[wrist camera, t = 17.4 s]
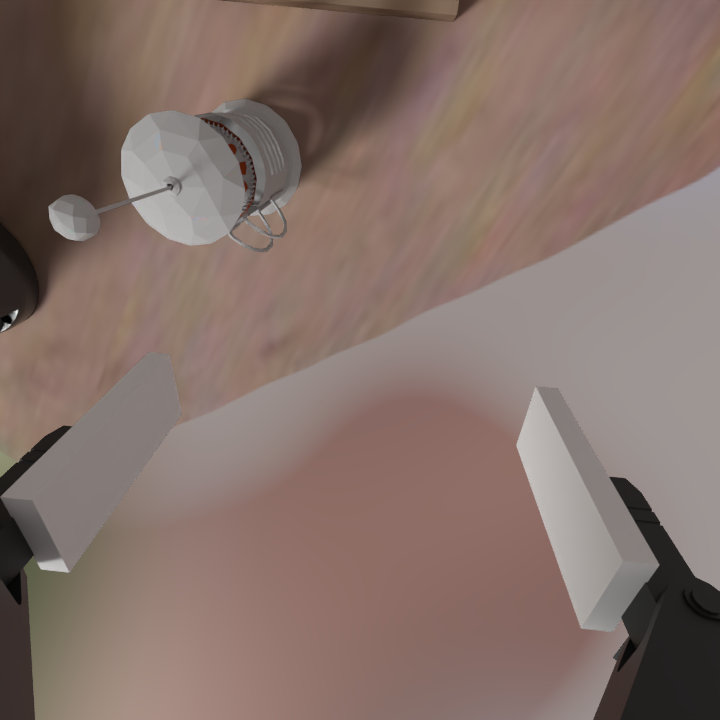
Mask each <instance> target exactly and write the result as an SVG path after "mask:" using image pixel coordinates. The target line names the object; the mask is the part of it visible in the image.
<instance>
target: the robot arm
mask: <svg viewBox="0 0 720 720" xmlns="http://www.w3.org/2000/svg"><path fill="white" fill-rule="evenodd" d="M37 300H38V285H37V280H36V276H35V273H34V270H33V268H32V265H31V263H30V261H29V259H28V257H27V256H26V254H25V252H24V251H23V249H22V248H21V246H20V245H19V244H18V242H17V241H16V240H15V239H14V238H13V236H12V235H11V234H10V233H9V232H8V231H7V230H6V229H5V228H4V227H3V226H2V225H1V224H0V333H1V332H4V331H7V330H9V329H11V328H13V327H14V326H16V325H18V324H20V323H22V322H23V321H25V320H26V319H27V318H29V317H30V315H31V314H32V313H33V311H34V309H35V307H36V304H37ZM181 415H182V412H181V407H180V403H179V398H178V393H177V388H176V383H175V379H174V374H173V369H172V364H171V359H170V355H169V354H162V353H151V352H149V353H147V354H146V355H145V356H144V357H143V358H142V359H141V360H140V361H139V362H138V363H137V364H136V365H135V366H134V367H133V368H132V369H131V370H130V371H129V372H128V373H127V374H126V375H125V376H124V377H123V378H122V379H121V380H120V381H119V382H118V383H117V384H116V385H115V386H114V387H113V388H112V389H111V390H109V391H108V392H107V393H106V394H105V395H104V396H103V397H102V398H101V399H100V400H99V401H98V402H97V403H96V404H95V405H94V406H93V407H92V408H91V409H90V410H89V411H88V412H87V413H86V414H85V415H84V416H83V417H82V418H81V419H80V420H79V421H78V422H77V423H76V424H75V425H74V426H62V427H60V428H59V429H57V430H55V431H53V432H52V433H50V434H48V435H46V436H45V437H44V438H43V439H41V440H40V441H39V442H38V443H37V444H36V445H35V446H34V447H33V448H32V449H31V451H30V452H27V453H26V454H25V455H24V456H23V457H22V458H21V459H20V461H19V463H16V464H14V465H13V466H12V467H11V468H10V469H9V470H8V471H7V472H6V473H5V474H4V475H3V476H1V477H0V720H35V712H34V695H33V677H32V660H31V642H30V624H29V607H28V589H27V576H26V573H25V571H24V569H23V567H24V566H25V565H26V564H27V563H28V561H29V560H30V559H31V558H32V556H34V558H35V560H36V561H37V563H38V565H39V567H40V568H41V569H42V570H51V571H60V572H70V571H71V570H72V568H73V567H74V565H75V564H76V563H77V561H78V560H79V558H80V557H81V556H82V554H83V553H84V551H85V550H86V549H87V547H88V546H89V544H90V543H91V541H92V540H93V539H94V537H95V536H96V534H97V533H98V532H99V530H100V529H101V527H102V526H103V525H104V523H105V522H106V520H107V519H108V518H109V516H110V515H111V513H112V512H113V510H114V509H115V508H116V506H117V505H118V503H119V502H120V501H121V499H122V498H123V496H124V495H125V494H126V492H127V491H128V489H129V488H130V487H131V485H132V484H133V482H134V481H135V479H136V478H137V477H138V475H139V474H140V472H141V471H142V470H143V468H144V467H145V465H146V464H147V462H148V461H149V460H150V458H151V457H152V455H153V454H154V452H155V451H156V450H157V448H158V447H159V446H160V444H161V443H162V441H163V440H164V439H165V437H166V436H167V434H168V433H169V432H170V430H171V429H172V427H173V426H174V425H175V423H176V422H177V420H178V419H179V418H180V416H181ZM516 446H517V449H518V451H519V454H520V457H521V460H522V463H523V466H524V468H525V471H526V474H527V477H528V480H529V483H530V485H531V488H532V491H533V494H534V496H535V499H536V502H537V505H538V508H539V511H540V514H541V516H542V519H543V522H544V525H545V528H546V530H547V533H548V536H549V539H550V542H551V544H552V548H553V550H554V553H555V556H556V559H557V561H558V565H559V567H560V570H561V573H562V576H563V579H564V582H565V584H566V587H567V590H568V593H569V596H570V598H571V601H572V604H573V607H574V610H575V612H576V615H577V618H578V621H579V624H580V627H581V629H590V630H600V631H608V632H613V631H614V629H615V628H616V626H617V625H618V623H619V622H620V621H621V619H622V620H623V622H624V625H625V627H626V629H627V631H628V634H629V637H628V638H627V639H626V641H625V642H624V643H623V645H622V646H621V647H620V649H619V650H618V652H617V653H616V654H615V656H614V657H613V658H614V659H615V660H617V662H616V664H615V667H614V670H613V672H612V674H611V677H610V680H609V682H608V684H607V687H606V689H605V692H604V694H603V697H602V699H601V702H600V704H599V707H598V710H597V712H596V714H595V717H594V719H593V720H720V591H718V590H717V589H716V588H714V587H713V586H712V585H710V584H708V583H706V582H704V581H702V580H700V579H698V578H696V577H695V576H694V575H693V573H692V572H691V570H690V568H689V567H688V565H687V564H686V562H685V561H684V559H683V557H682V556H681V555H680V553H679V551H678V550H677V548H676V547H675V545H674V543H673V542H672V540H671V539H670V537H669V535H668V534H667V532H666V531H665V529H664V528H663V526H660V521H659V520H658V518H657V517H656V515H655V513H654V512H652V509H651V507H650V506H649V504H648V502H647V501H646V500H645V498H644V496H643V495H642V493H641V492H640V491H639V490H638V489H637V488H635V487H634V486H633V485H632V484H631V483H630V482H629V481H628V480H627V479H625V478H617V477H609V476H608V474H607V473H606V471H605V469H604V467H603V466H602V464H601V462H600V460H599V459H598V457H597V455H596V453H595V452H594V450H593V448H592V447H591V445H590V443H589V441H588V440H587V438H586V436H585V434H584V433H583V431H582V429H581V427H580V426H579V424H578V422H577V421H576V419H575V417H574V416H573V414H572V412H571V410H570V408H569V407H568V405H567V403H566V401H565V400H564V398H563V396H562V394H561V393H560V391H559V389H558V388H549V387H537V386H536V388H535V390H534V394H533V397H532V400H531V403H530V406H529V409H528V412H527V415H526V418H525V421H524V424H523V427H522V430H521V433H520V436H519V439H518V442H517V445H516Z"/></svg>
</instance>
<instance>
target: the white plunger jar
mask: <svg viewBox="0 0 720 720" xmlns="http://www.w3.org/2000/svg"><path fill="white" fill-rule="evenodd" d="M301 168H302V164H301V158H300V153H299V147H298V142H297V140H296V139H295V137H294V135H293V133H292V132H291V130H290V128H289V126H288V124H287V123H286V121H285V120H284V119H282V118H281V117H280V116H279V115H278V114H277V113H275V112H274V111H273V110H272V109H271V108H270V107H269V106H267V105H264V104H261V103H258V102H255V101H251V100H248V99H241V100H234V101H228V102H224V103H223V104H222V105H220V106H219V107H218V108H216V109H215V110H214V111H212V112H211V113H207V114H201V115H195V116H191V115H188V114H184V113H181V112H178V111H174V110H171V111H164V112H158V113H151V114H148V115H147V116H145V117H144V118H143V119H142V120H140V121H139V122H138V123H137V124H135V125H134V126H133V127H131V128H130V131H129V133H128V135H127V137H126V140H125V142H124V144H123V147H122V149H121V176H122V179H123V182H124V185H125V187H126V190H127V193H128V196H129V198H130V199H128V200H125V201H121V202H118V203H115V204H112V205H109V206H106V207H103V208H100V209H97V210H95V208H94V207H93V206H92V204H91V203H90V202H88V201H87V200H86V199H84V198H83V197H80V196H77V195H74V194H72V195H63V196H62V197H60V198H59V199H58V200H56V201H55V202H54V203H52V204H51V205H50V206H48V207H49V218H50V221H51V223H52V226H53V228H54V229H55V231H57V232H58V233H60V234H61V235H62V236H64V237H65V238H67V239H71V240H76V241H85V240H87V239H89V238H92V237H93V236H94V235H96V234H97V233H98V231H99V228H100V218H99V215H98V214H99V213H102V212H105V211H108V210H111V209H114V208H117V207H120V206H123V205H126V204H129V203H132V204H133V205H134V207H135V208H136V209H137V211H138V212H139V213H140V215H141V216H142V217H143V219H144V220H145V221H146V223H147V224H149V225H150V226H151V227H153V228H154V229H155V230H157V231H158V232H160V233H161V234H162V235H164V236H165V237H166V238H168V239H171V240H174V241H177V242H180V243H184V244H187V245H190V246H191V245H201V244H210V243H213V242H215V241H217V240H218V239H220V238H222V237H223V236H225V235H226V234H228V235H229V236H230V237H231V238H232V239H233V240H235V241H236V242H237V243H239V244H240V245H242V246H243V247H245V248H248V249H250V250H253V251H257V252H267V251H268V250H269V249H270V248H271V247H272V246H273V238H283V236H284V235H285V233H286V232H287V225H286V220H285V218H284V215H283V213H282V211H281V210H280V208H281V207H283V206H284V205H286V204H287V203H288V202H289V200H290V199H291V197H292V195H293V194H294V192H295V191H296V189H297V188H298V184H299V178H300V173H301ZM276 210H277V211H278V213H279V215H280V217H281V219H282V221H283V224H284V230H283V233H281V234H280V235H273V234H272V232H271V229H270V227H269V225H268V223H267V221H266V220H265V218H264V217H263V215H264V214H271V213H273V212H275V211H276ZM249 215H251V216H255V215H260V217H261V219H262V220H263V222H264V224H265V226H266V227H267V229H268V231H269V233H270V234H269V233H267V232H265V231H263V230H260V229H259V228H258V227H256V226H255V225H254V224H252V223H251V222H250V221H249V220H248V219H247V217H248V216H249ZM243 221H245V222H246V223H247V224H248V225H250V226H251V227H252V228H254V229H255V230H256V231H258V232H259V233H261V234H263V235H265V236H268V237H270V244H269V245H268V246H267V248H264V249H258V248H253V247H251V246H249V245H247V244H245V243H243V242H242V241H240V240H239V239H238V238H236V237H235V236H234V235H233V234H232V231H233V230H234V229H236V228H237V227H238V226H239V225H240V224H241V223H242V222H243Z"/></svg>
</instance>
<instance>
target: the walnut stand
mask: <svg viewBox="0 0 720 720" xmlns="http://www.w3.org/2000/svg"><path fill="white" fill-rule="evenodd" d="M223 1H234V2H245V3H256V4H267V5H278V6H288V7H299V8H310V9H321V10H332V11H343V12H354V13H365V14H376V15H387V16H398V17H409V18H420V19H431V20H442V21H454V20H455V18H456V16H457V12H458V5H459V0H223Z"/></svg>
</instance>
